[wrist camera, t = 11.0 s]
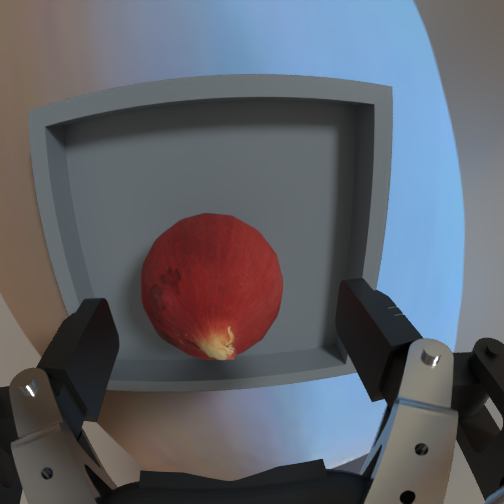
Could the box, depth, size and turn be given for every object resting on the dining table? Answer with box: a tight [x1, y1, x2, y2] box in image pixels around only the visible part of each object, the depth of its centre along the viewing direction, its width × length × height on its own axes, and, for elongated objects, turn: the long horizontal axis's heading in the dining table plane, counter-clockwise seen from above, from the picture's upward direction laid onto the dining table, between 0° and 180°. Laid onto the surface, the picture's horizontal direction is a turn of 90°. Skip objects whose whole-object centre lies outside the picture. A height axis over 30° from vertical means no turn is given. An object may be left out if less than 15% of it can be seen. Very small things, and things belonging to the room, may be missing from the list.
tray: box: [28, 74, 393, 392], centre depth 15 cm, size 17×17×3 cm
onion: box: [141, 213, 283, 361], centre depth 12 cm, size 6×6×8 cm
